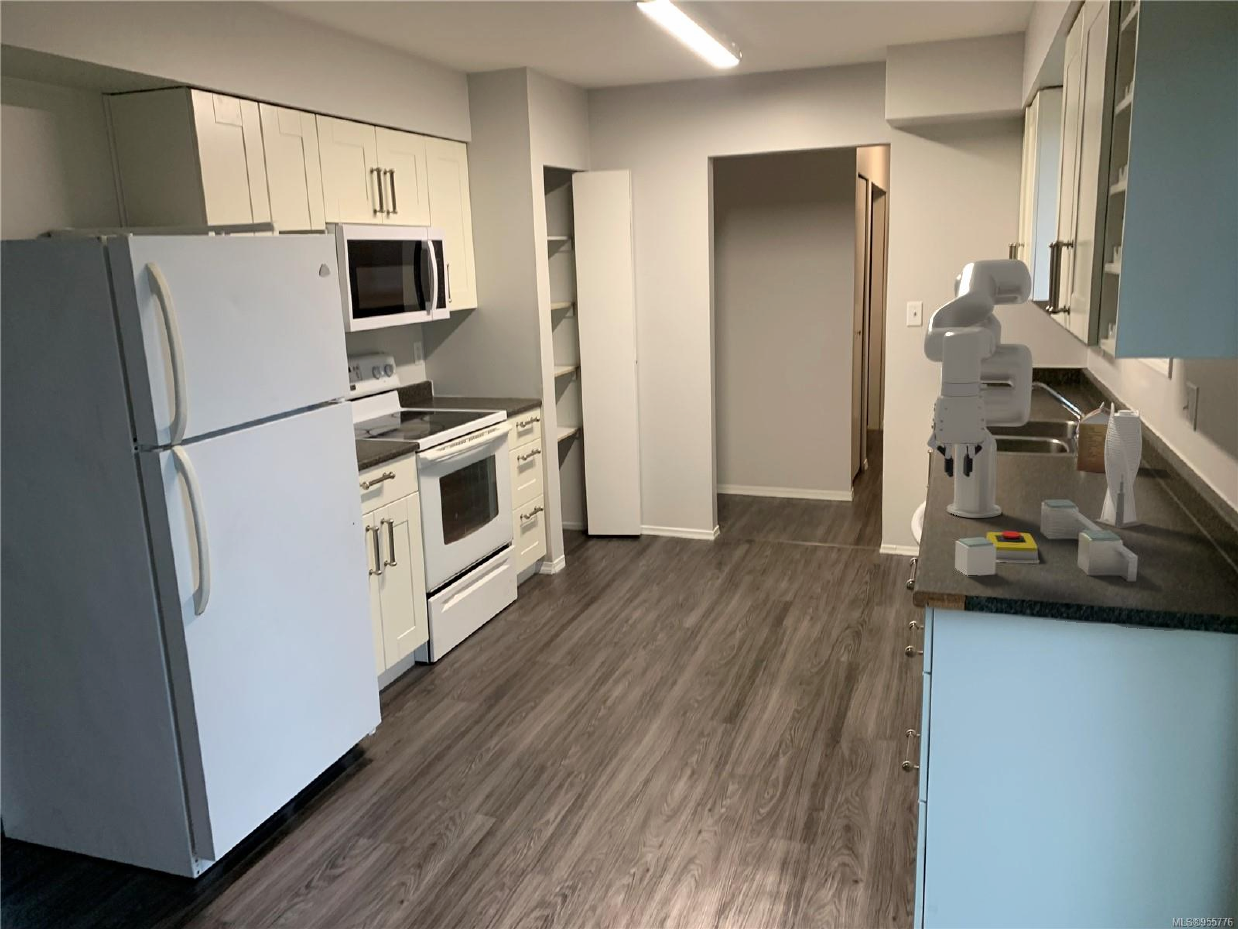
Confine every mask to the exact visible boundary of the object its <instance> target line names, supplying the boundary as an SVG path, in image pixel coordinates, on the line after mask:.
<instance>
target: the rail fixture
mask: <svg viewBox="0 0 1238 929" xmlns="http://www.w3.org/2000/svg"><path fill="white" fill-rule="evenodd" d="M1040 511H1041V513H1040V528H1039V531H1040V533H1041V534H1043V536H1045V537H1046V538H1047V539H1048V540H1078V550H1077V551H1078V552H1077V567H1078V568H1079V569H1080V570H1082V571H1083V572H1084V573H1085V574H1086V575H1087V576H1121V577H1122V578H1123V579H1125V580H1126V582H1137V573H1138V572H1137V571H1138V559H1139V558H1138V557H1139V556H1138V555H1137V554H1135V553H1134V552H1133V551H1131V550H1130V549H1129V548H1127V547H1126V546H1124V545H1123V544H1124V540H1122V539H1121V537H1120V536H1119V535H1118V534H1116V533H1114V532H1113V531H1112V530H1111V529H1107V530H1106V529H1102V528H1101V527H1099V526H1098V525H1097V524H1095V523H1094V522H1092V521H1091V520H1090V519H1088V517H1087V516H1085V515H1083V514H1082V513H1081V512H1079V507H1077V505H1076V503H1074V502H1072V501H1071V500H1070V499H1044V500H1043V501H1042V502H1041V510H1040Z"/></svg>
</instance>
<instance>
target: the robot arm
mask: <svg viewBox="0 0 1238 929" xmlns="http://www.w3.org/2000/svg"><path fill="white" fill-rule="evenodd" d="M954 280H955V281H954V286H953V288H954V296H955V298H954V299H952V300H949V302H947V303H946V304H944V305H943V306H941V307H940V308H938V309H937V310H936V311H935V312H933V314H932V315H931V317H930V319H929V321H928V324H927V328H926V333H925V336H924V340H923V341H924V342H923V349H924V354H925V358H926V359H928V360H929V361H930V362H933V363H941V395H939V396H938V395H937V397H936V400H935V407H934V411H933V412H934V414H933V421H932V422H933V424H932V433H931V435H930V437H929V439H928V440H927V443H926V445H927V446H928V447H929V448H931V449H933V450H936V451H937V452H939V454H941V455H942V456H943V457H944V460H943V461H944V464H943V465H944V466H943V468H944V473H945V474H946V476H948V477H949V478H953V477H954V482H953V484H954V488H953V489H954V490H953V493H954V494H953V503H950V504H948V505H947V506H946V511H947V512H948V513H949V514H951V513H952V514H951V515H953V514H954V516H956V515H957V517H962V518H969V519H970V518H971V519H987V518H995V517H998V516H999V515H1001V514H1002V508H1001V507H1000V506H999V505H997V504H995V502H996V501H995V500H996V481H997V479H996V476H997V474H996V473H997V450H998V448H997V447H998V446H997V442H996V439H995V437H994V436H993V434H992V433H991V432H990V431H989V430H988V428H987V427H1021V426H1024V425H1026V424H1027V422H1028V420H1029V419H1030V414H1031V402H1032V386H1033V363H1034V362H1033V355H1032V351H1031V349H1030V347H1028V346H1027V345H1025V344H1022V343H1002V341H1001V340H1002V338H1001V337H1002V324H1001V322H1000V321H999V319H998V317H997V316H996V315H995V314H994V313H993V311H994V308H995V306H1007V305H1009V306H1012V305H1013V306H1015V305H1023V304H1025V303H1027V301H1028V300H1029V298H1030V296H1031V292H1032V277H1031V274H1030V271H1029V268H1028V266H1027V264H1026V263H1025V262H1024V261H1022V260H1020V259H1017V258H1003V259H983V260H975V261H973V262H970V263H968V264H967V265H966V266H964V267H963V269H962V270H961V273H960V274H959V275H958V276H957V277H956V278H955V279H954ZM988 383H990V384H993V383H995V384H996V383H997V384H999V383H1000V384H1002V383H1003V384H1009V385H1010V386H988ZM942 445H943V446H942ZM953 445H955V451H954V452H955V453H954V458H953V455H952V452H953ZM954 459H955V460H954Z"/></svg>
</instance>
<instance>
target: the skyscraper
mask: <svg viewBox="0 0 1238 929" xmlns="http://www.w3.org/2000/svg"><path fill="white" fill-rule="evenodd" d="M1115 408H1116V407H1115V403H1113V402H1111V404H1110V410H1111V414H1110V419H1109V423H1108V428H1107V434H1106V440H1105V471H1106V472H1105V476H1106V477H1105V478H1106V482H1107V489H1106V494H1105V497H1104V502H1103V505H1102V510H1101V514H1100V518H1097V519H1094V522H1095V523H1097V524H1102V525H1106V526H1109V527H1112V528H1116V529H1118V530H1119V529H1120V530H1121V529H1126V528H1130V527H1136V526H1137V525H1138V526H1141V525H1140V524H1142V525H1143V522H1141V521H1138V520H1137V513H1136V504H1135V497H1134V496H1135V495H1134V488H1133V485H1134V483H1135V480H1136V477H1137V474H1138V470H1139V468H1140V463H1141V458H1142V450H1143V449H1142V448H1143V436H1142V434H1143V432H1142V421H1141V414H1140V411H1139V410H1138V409H1137V410H1136V411H1135V412H1133V411H1132V410H1130V409H1121V410H1117V412H1115ZM1094 522H1093V523H1094Z"/></svg>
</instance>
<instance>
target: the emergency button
mask: <svg viewBox="0 0 1238 929" xmlns="http://www.w3.org/2000/svg"><path fill="white" fill-rule="evenodd" d="M985 539H987V540H989V541H991V542H993V544H994V545H996V563H1000V562H1006V563H1005V564H1028V563H1035V564H1036V563H1037V564H1036V565H1038V564H1040V563H1039V562H1040V560H1039V556H1038V554H1039V553H1038V550H1039V549H1038V548H1039V547H1038V546H1037V543H1036V541H1035V540H1034V538H1033V536H1032V535H1031V534H1030V533H1027V532H1018V531H1013V530H1012V531H1011V530H1010V531H1003V532H992V531H991V532H989V531H988V532H987V533H986V538H985ZM1035 564H1034V565H1035Z"/></svg>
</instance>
